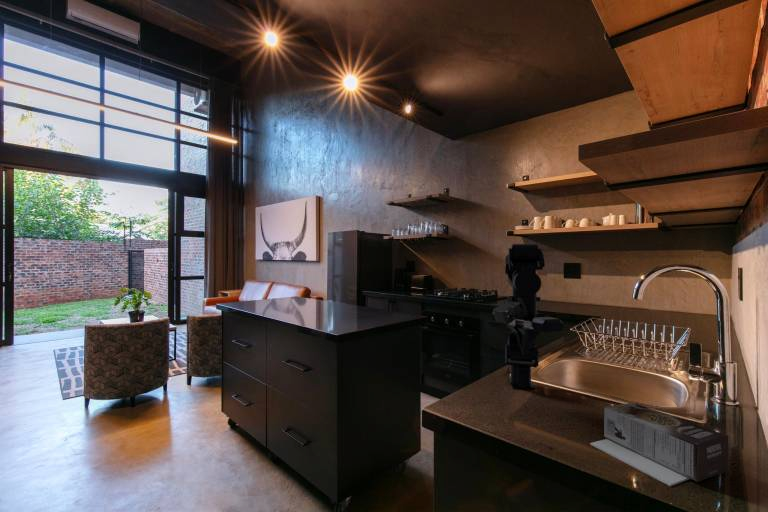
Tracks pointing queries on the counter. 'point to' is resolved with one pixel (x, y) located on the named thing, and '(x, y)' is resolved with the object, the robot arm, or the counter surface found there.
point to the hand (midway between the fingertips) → (524, 353)
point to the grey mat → (640, 462)
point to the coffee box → (668, 440)
